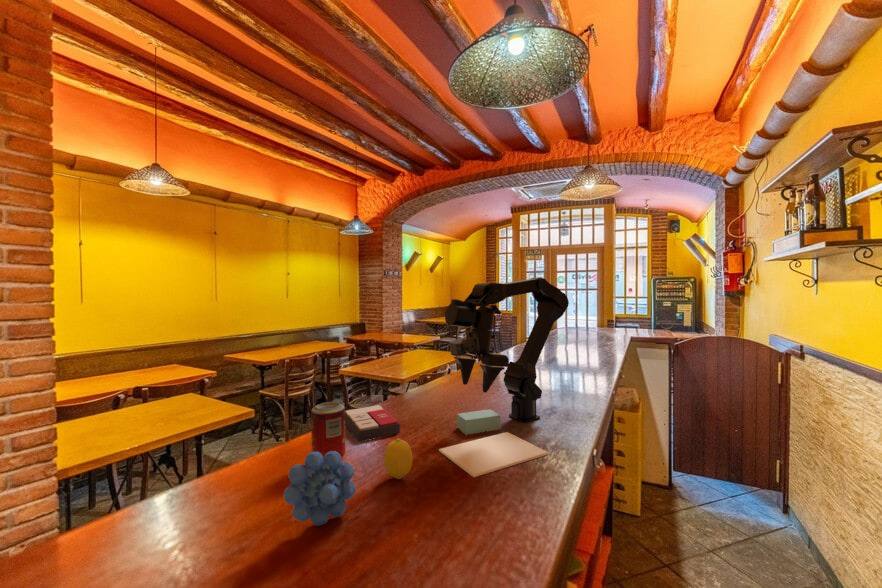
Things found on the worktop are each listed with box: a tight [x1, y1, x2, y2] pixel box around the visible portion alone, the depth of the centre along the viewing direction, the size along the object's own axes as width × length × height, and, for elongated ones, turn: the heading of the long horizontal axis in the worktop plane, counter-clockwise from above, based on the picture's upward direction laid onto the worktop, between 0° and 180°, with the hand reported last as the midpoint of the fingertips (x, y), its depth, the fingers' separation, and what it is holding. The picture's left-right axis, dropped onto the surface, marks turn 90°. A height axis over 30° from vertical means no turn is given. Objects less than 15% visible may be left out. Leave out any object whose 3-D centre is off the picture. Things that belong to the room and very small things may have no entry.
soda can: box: [310, 401, 346, 459], centre depth 83 cm, size 7×7×12 cm
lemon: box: [383, 437, 414, 480], centre depth 74 cm, size 6×6×8 cm
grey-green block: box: [456, 409, 501, 436], centre depth 101 cm, size 10×6×4 cm, turn 111°
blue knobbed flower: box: [283, 451, 357, 527], centre depth 60 cm, size 12×7×12 cm, turn 130°
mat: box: [438, 431, 549, 478], centre depth 86 cm, size 20×14×1 cm
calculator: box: [345, 404, 401, 443], centre depth 102 cm, size 11×4×15 cm
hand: (474, 388), depth 100 cm, fingers open, 9 cm apart
